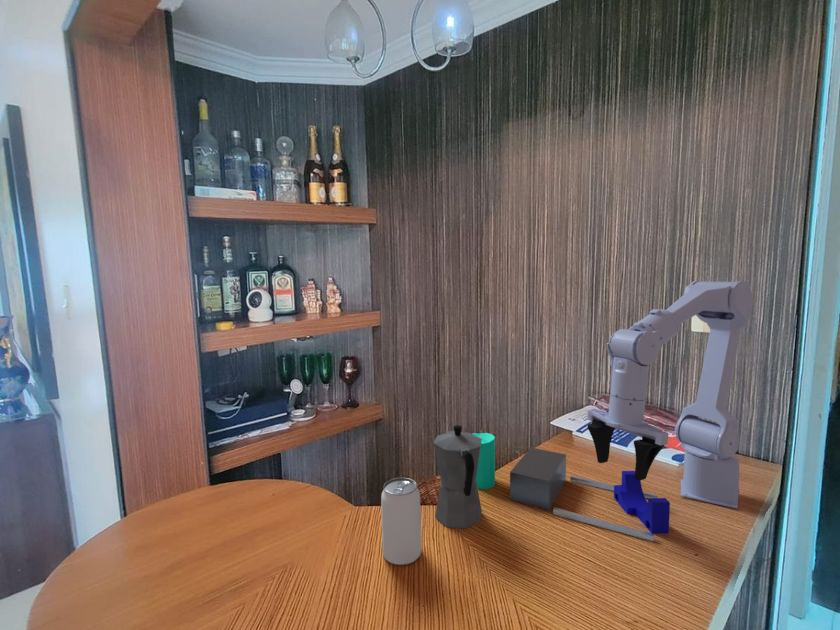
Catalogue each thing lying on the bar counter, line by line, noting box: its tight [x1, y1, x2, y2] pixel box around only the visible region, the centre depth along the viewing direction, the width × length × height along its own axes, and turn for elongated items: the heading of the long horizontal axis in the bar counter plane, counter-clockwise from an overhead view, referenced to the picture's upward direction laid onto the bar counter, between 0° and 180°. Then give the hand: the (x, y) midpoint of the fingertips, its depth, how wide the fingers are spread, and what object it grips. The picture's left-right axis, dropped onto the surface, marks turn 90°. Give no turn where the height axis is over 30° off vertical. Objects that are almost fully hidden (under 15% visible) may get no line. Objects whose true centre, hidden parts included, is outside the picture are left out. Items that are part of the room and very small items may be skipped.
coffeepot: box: [433, 424, 483, 530], centre depth 81 cm, size 15×9×18 cm, turn 10°
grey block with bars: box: [509, 447, 659, 543], centre depth 87 cm, size 28×16×6 cm, turn 59°
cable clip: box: [613, 470, 671, 535], centre depth 82 cm, size 12×4×6 cm, turn 179°
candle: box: [472, 430, 496, 490], centre depth 95 cm, size 6×6×12 cm
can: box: [380, 477, 422, 566], centre depth 71 cm, size 6×6×12 cm
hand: (620, 470), depth 78 cm, fingers open, 7 cm apart
